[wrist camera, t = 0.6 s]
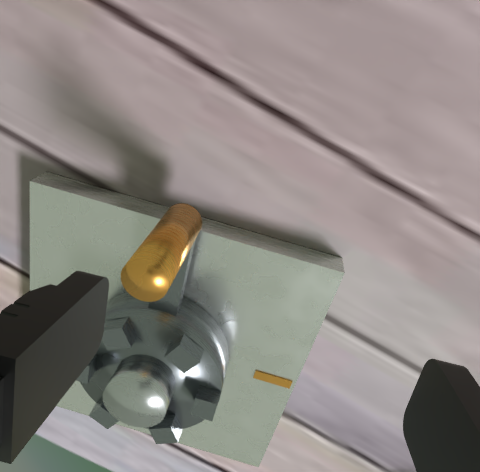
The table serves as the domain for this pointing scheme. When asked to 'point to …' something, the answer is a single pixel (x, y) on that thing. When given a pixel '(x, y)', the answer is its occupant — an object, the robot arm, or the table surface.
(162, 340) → the chuck with crank handle
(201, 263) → the base plate
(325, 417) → the table surface
